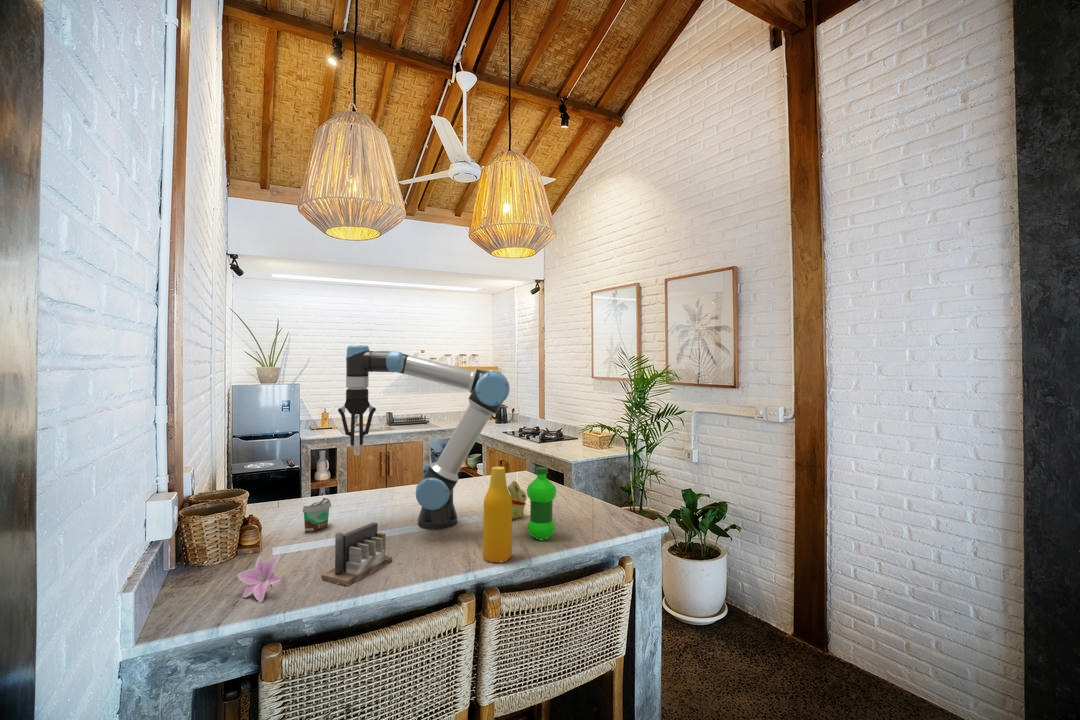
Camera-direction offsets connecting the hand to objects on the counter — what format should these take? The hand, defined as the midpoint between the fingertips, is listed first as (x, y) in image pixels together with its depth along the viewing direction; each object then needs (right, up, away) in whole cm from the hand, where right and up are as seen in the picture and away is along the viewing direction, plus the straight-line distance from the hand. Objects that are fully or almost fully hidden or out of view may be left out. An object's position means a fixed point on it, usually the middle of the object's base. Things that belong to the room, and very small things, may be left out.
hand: (356, 454), depth 179 cm
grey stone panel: (+11, -28, -27) cm, 40 cm away
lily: (-10, -30, -44) cm, 54 cm away
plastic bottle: (+66, -30, +1) cm, 72 cm away
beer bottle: (+52, -30, -17) cm, 62 cm away
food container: (-16, -29, +8) cm, 34 cm away
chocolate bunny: (+55, -30, +24) cm, 67 cm away
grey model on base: (+11, -30, -28) cm, 42 cm away
